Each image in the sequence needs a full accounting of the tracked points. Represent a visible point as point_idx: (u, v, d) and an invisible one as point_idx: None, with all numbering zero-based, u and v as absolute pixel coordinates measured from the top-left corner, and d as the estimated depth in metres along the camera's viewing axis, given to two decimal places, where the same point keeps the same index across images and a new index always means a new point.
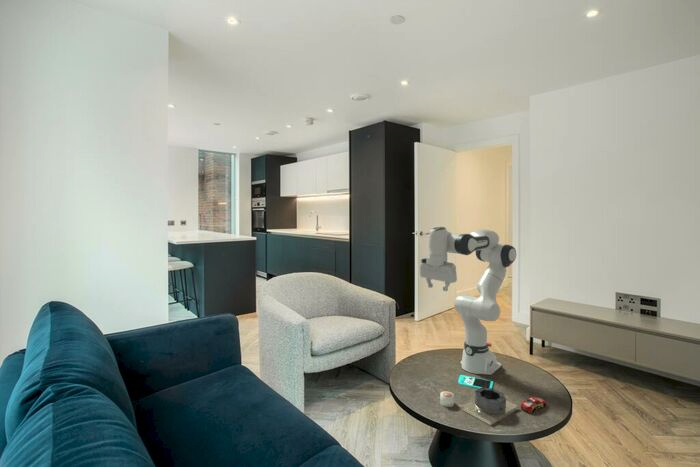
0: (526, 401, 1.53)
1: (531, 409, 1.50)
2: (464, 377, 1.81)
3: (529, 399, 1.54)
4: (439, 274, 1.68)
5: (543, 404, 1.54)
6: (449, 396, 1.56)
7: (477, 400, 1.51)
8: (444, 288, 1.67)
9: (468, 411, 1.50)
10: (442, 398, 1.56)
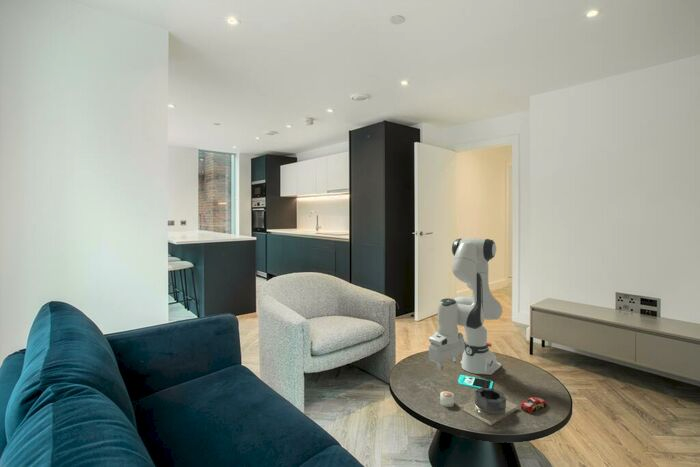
0: (526, 401, 1.53)
1: (531, 409, 1.50)
2: (464, 377, 1.81)
3: (529, 399, 1.54)
4: (454, 349, 1.57)
5: (543, 404, 1.54)
6: (449, 396, 1.56)
7: (477, 400, 1.51)
8: (456, 362, 1.59)
9: (468, 411, 1.50)
10: (442, 398, 1.56)
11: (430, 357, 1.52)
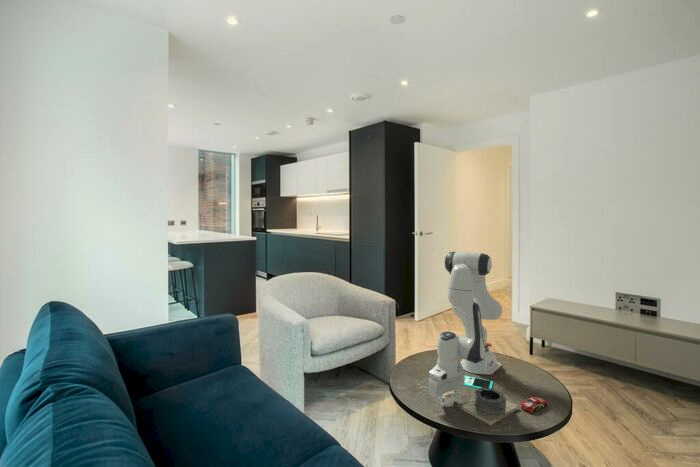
0: (527, 401, 1.53)
1: (532, 409, 1.50)
2: (464, 377, 1.81)
3: (530, 399, 1.54)
4: (454, 382, 1.58)
5: (544, 404, 1.54)
6: (449, 396, 1.56)
7: (477, 400, 1.51)
8: (454, 395, 1.59)
9: (468, 411, 1.50)
10: None
11: (430, 391, 1.53)
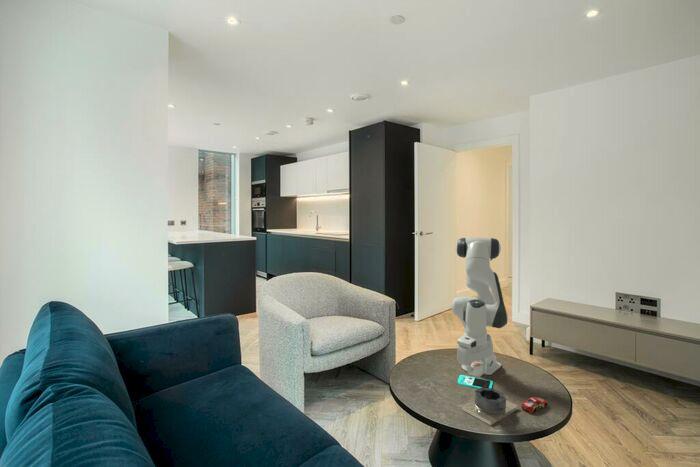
0: (527, 401, 1.53)
1: (532, 409, 1.50)
2: (464, 377, 1.81)
3: (530, 399, 1.54)
4: (483, 352, 1.53)
5: (544, 404, 1.54)
6: (478, 365, 1.52)
7: (477, 400, 1.51)
8: None
9: (468, 411, 1.50)
10: None
11: (459, 360, 1.48)
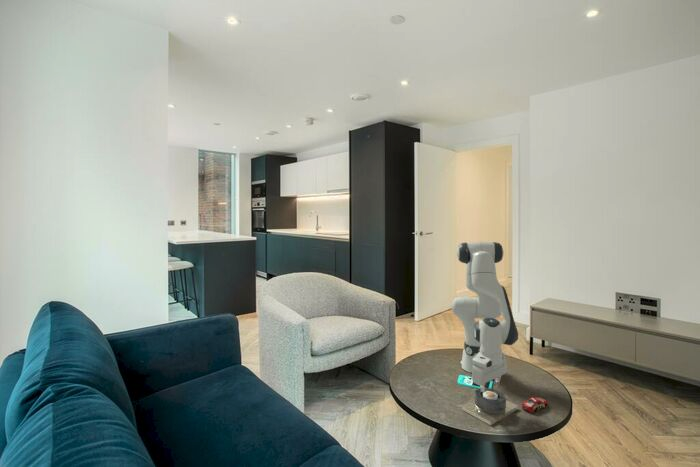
0: (527, 401, 1.53)
1: (532, 409, 1.50)
2: (463, 377, 1.81)
3: (530, 399, 1.54)
4: (497, 370, 1.52)
5: (545, 404, 1.54)
6: (493, 396, 1.51)
7: (477, 400, 1.51)
8: (498, 383, 1.54)
9: (468, 411, 1.50)
10: None
11: (474, 379, 1.47)
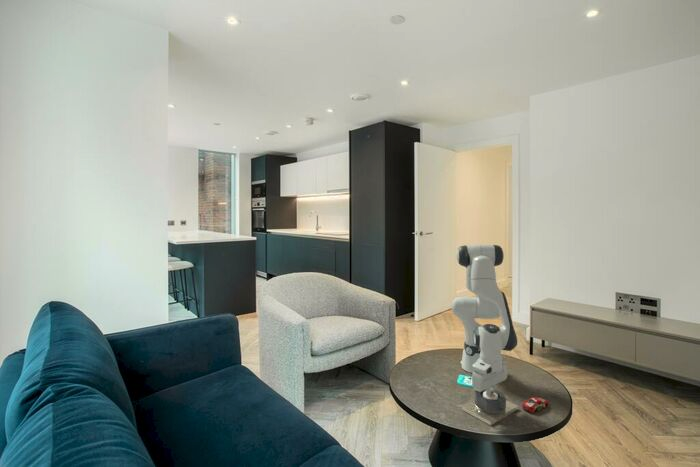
0: (528, 401, 1.53)
1: (533, 409, 1.50)
2: (463, 377, 1.81)
3: (531, 399, 1.54)
4: (497, 377, 1.52)
5: (545, 404, 1.54)
6: (493, 396, 1.51)
7: (477, 400, 1.51)
8: (493, 392, 1.52)
9: (468, 411, 1.50)
10: (486, 398, 1.51)
11: (474, 386, 1.47)
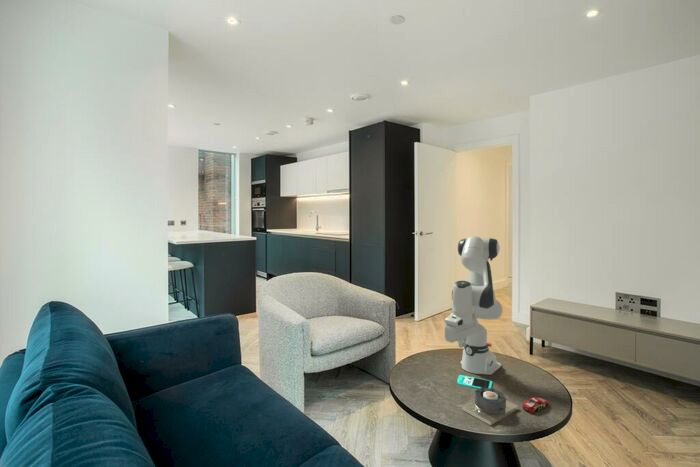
0: (528, 401, 1.53)
1: (533, 409, 1.50)
2: (463, 377, 1.81)
3: (531, 399, 1.54)
4: (469, 330, 1.61)
5: (545, 404, 1.54)
6: (493, 396, 1.51)
7: (477, 400, 1.51)
8: (464, 344, 1.62)
9: (468, 411, 1.50)
10: (486, 398, 1.51)
11: (446, 337, 1.56)
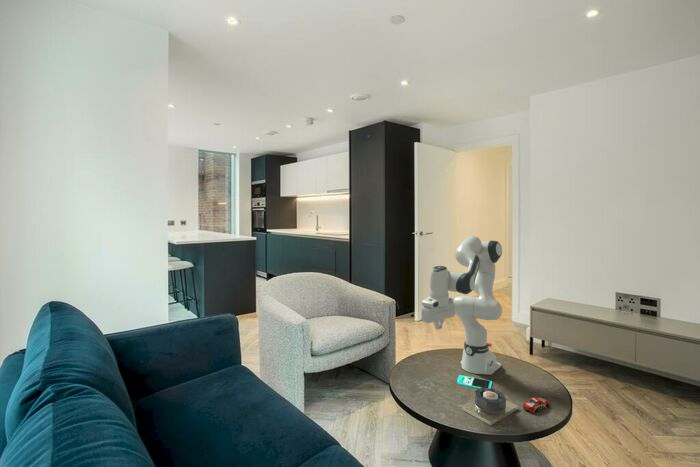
0: (529, 401, 1.53)
1: (533, 409, 1.50)
2: (463, 377, 1.81)
3: (532, 399, 1.54)
4: (445, 312, 1.70)
5: (546, 404, 1.54)
6: (493, 396, 1.51)
7: (477, 400, 1.51)
8: (441, 326, 1.70)
9: (468, 411, 1.50)
10: (486, 398, 1.51)
11: (423, 318, 1.65)
